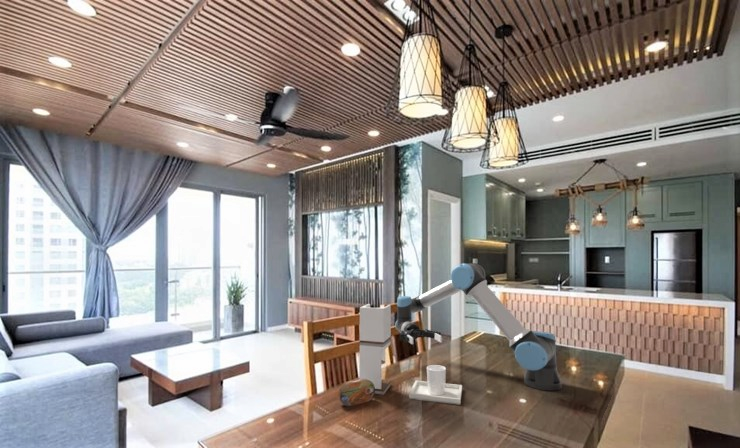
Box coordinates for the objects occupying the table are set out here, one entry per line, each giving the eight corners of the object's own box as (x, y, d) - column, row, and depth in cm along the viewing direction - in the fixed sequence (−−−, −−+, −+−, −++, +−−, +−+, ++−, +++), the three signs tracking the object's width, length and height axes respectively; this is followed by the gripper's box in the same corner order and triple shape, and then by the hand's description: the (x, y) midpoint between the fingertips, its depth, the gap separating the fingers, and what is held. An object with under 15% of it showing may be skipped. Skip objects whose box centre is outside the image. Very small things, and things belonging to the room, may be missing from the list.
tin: (340, 408, 137) (340, 385, 138) (337, 405, 140) (337, 382, 140) (375, 400, 144) (375, 378, 145) (371, 398, 147) (371, 376, 147)
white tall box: (383, 394, 150) (383, 308, 153) (359, 391, 153) (359, 307, 156) (390, 385, 161) (390, 304, 164) (368, 382, 164) (368, 303, 167)
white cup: (446, 396, 146) (445, 371, 147) (426, 395, 148) (426, 370, 149) (446, 389, 154) (445, 365, 155) (427, 388, 155) (427, 364, 156)
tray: (462, 389, 155) (462, 385, 156) (460, 404, 140) (460, 399, 140) (415, 384, 161) (415, 380, 161) (409, 398, 146) (409, 393, 146)
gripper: (434, 336, 185) (452, 347, 164) (386, 339, 179) (400, 350, 159) (433, 321, 185) (452, 330, 165) (386, 324, 180) (400, 333, 159)
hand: (427, 340), depth 162 cm, fingers open, 13 cm apart
